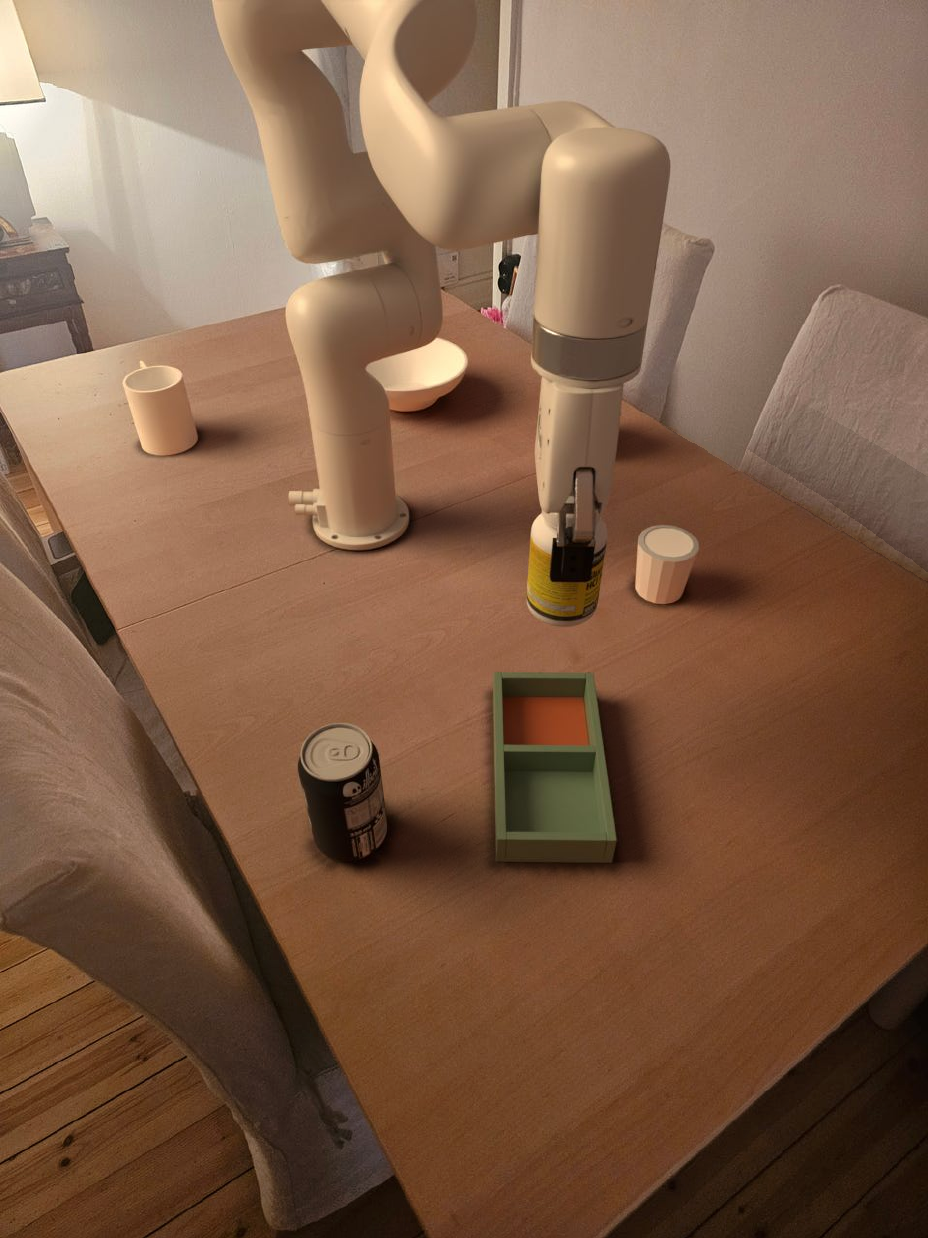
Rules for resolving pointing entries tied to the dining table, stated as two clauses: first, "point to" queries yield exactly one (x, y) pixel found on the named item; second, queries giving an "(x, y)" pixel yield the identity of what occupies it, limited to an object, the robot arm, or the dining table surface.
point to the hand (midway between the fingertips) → (566, 551)
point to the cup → (160, 409)
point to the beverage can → (343, 791)
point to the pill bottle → (561, 598)
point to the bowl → (420, 374)
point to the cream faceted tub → (664, 563)
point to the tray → (550, 770)
